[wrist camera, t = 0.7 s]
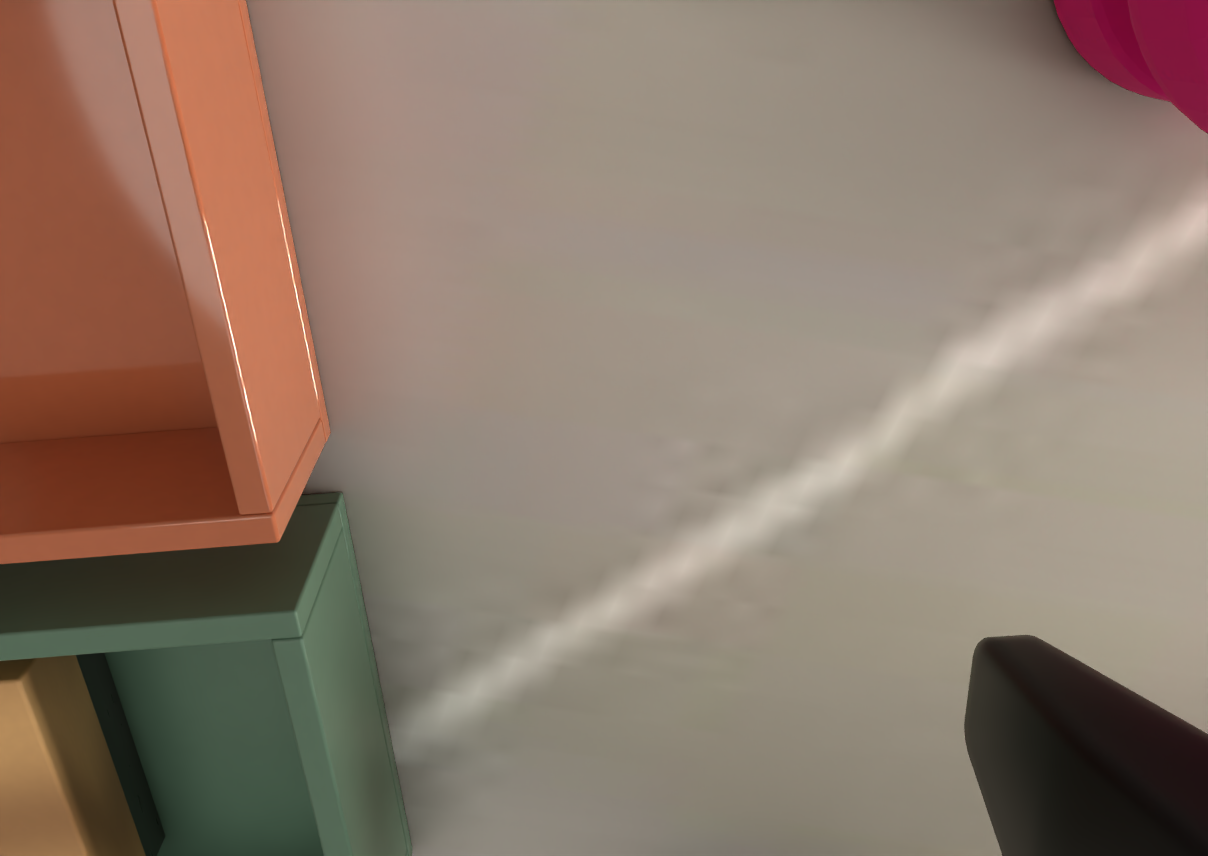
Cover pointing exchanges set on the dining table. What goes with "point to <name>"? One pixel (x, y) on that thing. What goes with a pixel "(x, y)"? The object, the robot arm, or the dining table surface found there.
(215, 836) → the green tub
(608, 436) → the dining table surface
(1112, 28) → the pepper mill
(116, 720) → the tan wooden block
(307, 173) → the dining table surface
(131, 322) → the terracotta tub
